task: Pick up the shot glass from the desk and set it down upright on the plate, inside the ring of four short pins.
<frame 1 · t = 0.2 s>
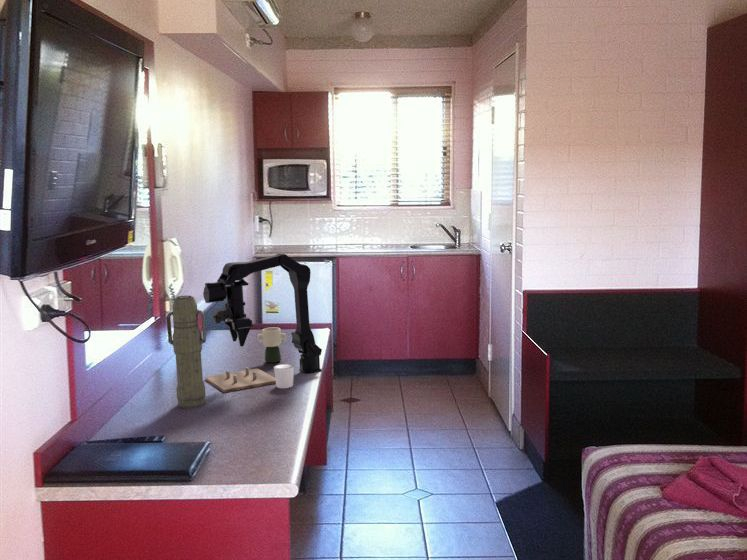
hand: (238, 343, 272), 14 cm above the counter, tool pointing down, fingers open, 9 cm apart
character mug: (273, 362, 303), on the counter
pin plate: (241, 381, 277), on the counter
shot glass: (284, 386, 269), on the counter
thermos: (191, 404, 252), on the counter
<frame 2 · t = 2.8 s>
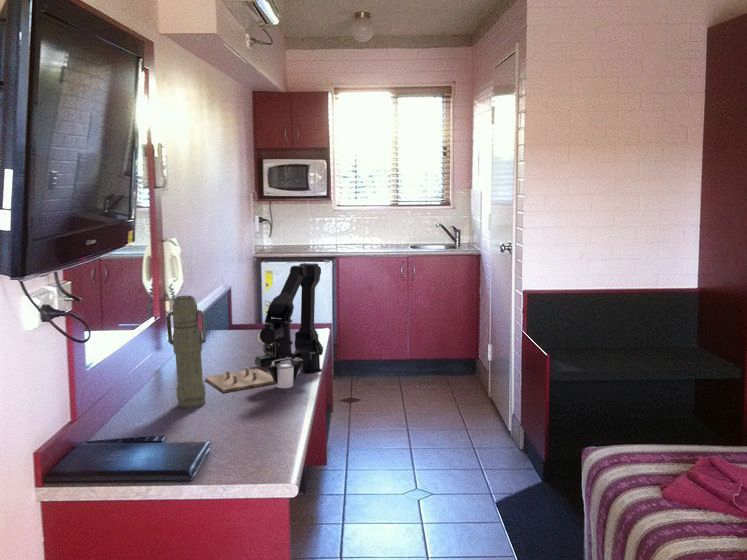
hand: (284, 382, 269), 1 cm above the counter, tool pointing down, fingers closed on shot glass, 6 cm apart
shot glass: (284, 386, 269), on the counter, touching gripper
everything else where it was.
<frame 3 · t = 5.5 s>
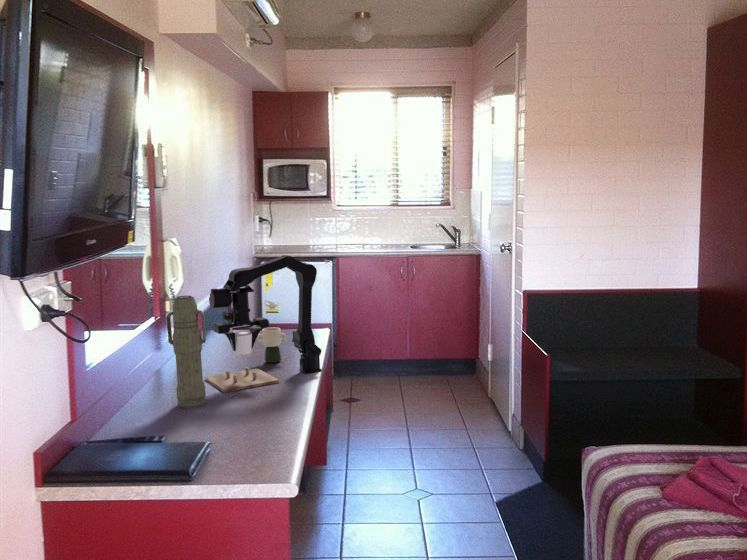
hand: (242, 349, 275), 12 cm above the counter, tool pointing down, fingers closed on shot glass, 6 cm apart
shot glass: (243, 353, 275), point 10 cm above the counter, touching gripper
everything else where it was.
when the fingers open (4 cm above the counter, at t = 8.0 s): shot glass drops 1 cm, resting on pin plate.
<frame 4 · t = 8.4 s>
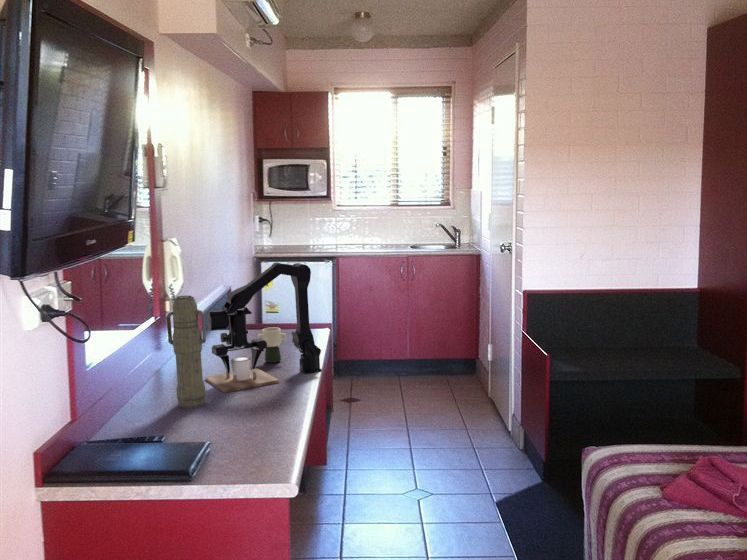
hand: (241, 370, 277), 4 cm above the counter, tool pointing down, fingers open, 9 cm apart
shot glass: (241, 379, 277), point 1 cm above the counter, touching pin plate
everything else where it was.
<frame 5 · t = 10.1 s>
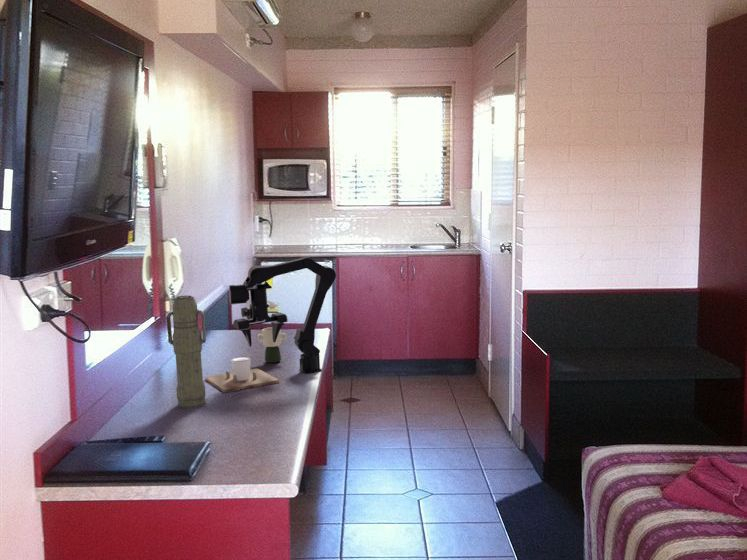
hand: (262, 344, 282), 12 cm above the counter, tool pointing down, fingers open, 9 cm apart
nothing on the counter moved.
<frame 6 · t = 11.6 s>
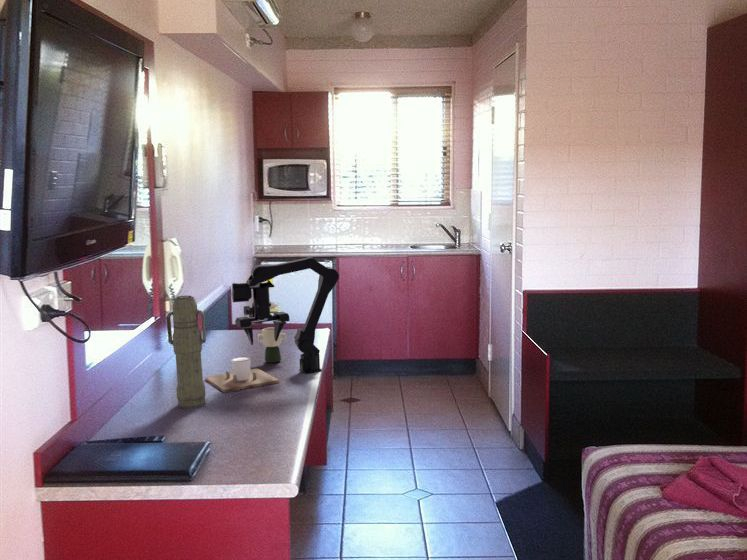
hand: (263, 343, 282), 12 cm above the counter, tool pointing down, fingers open, 9 cm apart
nothing on the counter moved.
at the end: shot glass 0.1 cm off-centre on the pin plate, point 0.8 cm above the pin plate's base; shot glass tilted 0°; the gripper is holding nothing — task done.
